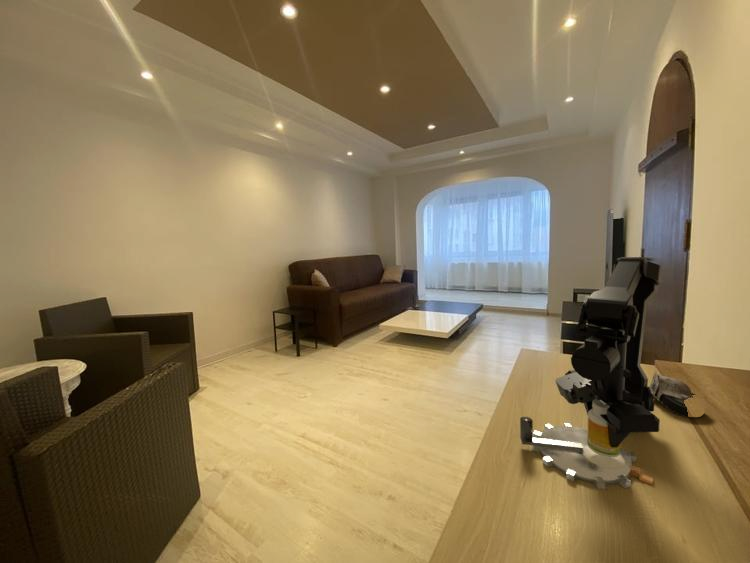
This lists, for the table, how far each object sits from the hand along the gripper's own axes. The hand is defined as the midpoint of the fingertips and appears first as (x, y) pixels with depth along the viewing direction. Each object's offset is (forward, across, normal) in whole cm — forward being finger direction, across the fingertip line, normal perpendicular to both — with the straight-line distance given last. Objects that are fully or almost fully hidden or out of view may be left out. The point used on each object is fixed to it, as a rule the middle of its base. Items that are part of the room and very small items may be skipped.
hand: (603, 437), depth 61 cm
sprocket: (+5, -3, -4) cm, 7 cm away
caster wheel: (+7, -23, +32) cm, 40 cm away
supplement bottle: (+3, 0, 0) cm, 3 cm away
